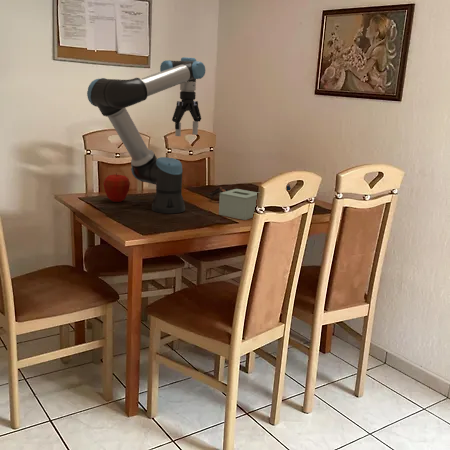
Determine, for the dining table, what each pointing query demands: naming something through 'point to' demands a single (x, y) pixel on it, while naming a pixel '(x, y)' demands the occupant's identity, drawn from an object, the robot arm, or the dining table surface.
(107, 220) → the dining table surface
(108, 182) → the apple
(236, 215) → the coin box
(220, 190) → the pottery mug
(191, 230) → the dining table surface
